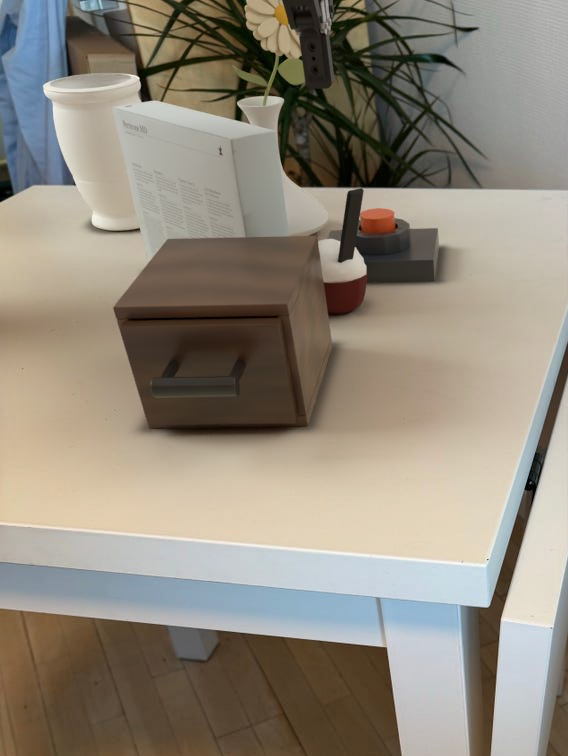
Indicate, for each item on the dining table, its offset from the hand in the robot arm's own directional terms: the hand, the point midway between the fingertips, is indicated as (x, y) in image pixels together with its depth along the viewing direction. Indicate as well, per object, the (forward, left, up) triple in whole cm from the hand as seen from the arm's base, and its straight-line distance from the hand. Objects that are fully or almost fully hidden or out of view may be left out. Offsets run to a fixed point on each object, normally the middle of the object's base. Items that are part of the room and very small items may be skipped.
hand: (320, 86), depth 76 cm
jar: (-31, +30, -19) cm, 47 cm away
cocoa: (-1, +1, -20) cm, 19 cm away
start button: (+2, +13, -16) cm, 20 cm away
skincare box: (-14, +7, -20) cm, 25 cm away
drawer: (-7, -19, -18) cm, 27 cm away
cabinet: (-7, -15, -19) cm, 25 cm away
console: (+2, +13, -19) cm, 23 cm away
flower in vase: (-10, +24, -19) cm, 32 cm away
